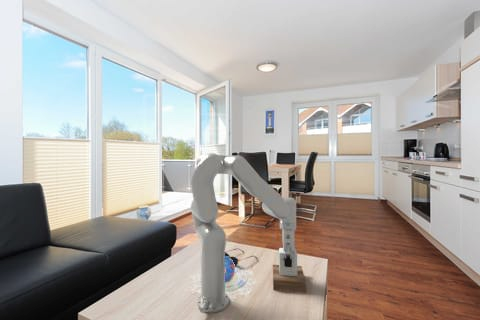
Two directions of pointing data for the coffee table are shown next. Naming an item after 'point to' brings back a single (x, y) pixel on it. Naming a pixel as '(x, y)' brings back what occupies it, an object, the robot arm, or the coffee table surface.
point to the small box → (282, 269)
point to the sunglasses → (235, 257)
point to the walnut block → (289, 280)
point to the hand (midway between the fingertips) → (288, 262)
